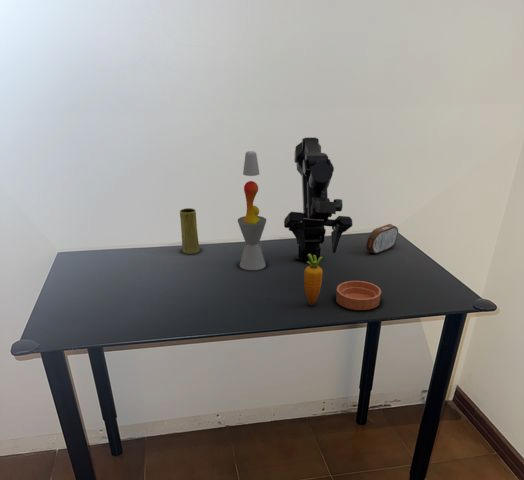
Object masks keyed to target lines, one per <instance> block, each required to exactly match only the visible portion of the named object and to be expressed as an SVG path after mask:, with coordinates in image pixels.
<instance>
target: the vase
mask: <svg viewBox="0 0 524 480" xmlns="http://www.w3.org/2000/svg"><path fill="white" fill-rule="evenodd" d="M179 218H180V232H181V233H180V234H181V247H182V248H181V252H182V253H183V254H186V255H195V254H198V253H200V251H201V248H200V244H199V234H198V223H197V212H196V209H194V208H192V207H188V208H182V209H180V210H179Z"/></svg>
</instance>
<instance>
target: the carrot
mask: <svg viewBox="0 0 524 480" xmlns="http://www.w3.org/2000/svg"><path fill="white" fill-rule="evenodd" d="M307 256H308V258H309V260H310V262H311V263H310V262H309V261H308V262H307V264H308V266H306V268H305V269H304V272H303V274H304V275H303V285H304V294H305V296H306V299H307V302H308V304H309V305H310V306H313V305H314V304H315V303H316V301H317V300H318V297H319V296H320V292H321V288H322V283H323V274H324V273H323V272H324V271H323V269H322V267H320V266H319V264H321V262H322V260H323V259H324V257H323V256H321V257H320V258H319V259H318V261H317V259H316V255H313V258H314V261H313V258H312V256H311V254H308V255H307Z"/></svg>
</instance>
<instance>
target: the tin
mask: <svg viewBox="0 0 524 480" xmlns="http://www.w3.org/2000/svg"><path fill="white" fill-rule="evenodd" d="M398 235H399V227H397V226H396V225H393V224H392V223H388V224H385V225H382V226H379V227H376V228H374V229H373V230H372V231H371V232H370V233H369V235H368V237H367V241H366V250H367V252H369V253H371V254H375V255H376V254H380V253H382V252H384V251H387V250H389V249H391V248H392V247H393V246H394V245H395V244H396V242H397V239H398Z"/></svg>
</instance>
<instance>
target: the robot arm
mask: <svg viewBox="0 0 524 480" xmlns="http://www.w3.org/2000/svg"><path fill="white" fill-rule="evenodd" d="M293 160H294V163H295V164H296V171H297V172H298V173H299V175H300V176H301V190H302V191H301V192H302V212H300V211H290V212H289V213H288V214H287V215H286V217H285V218H284V220H283V224H284V225H283V227H284V228H285V229H288V231H290V232H291V233H292V234H293V236H294V237H295V240H296V244H297V245H298V256H297V257H295V261H299V262H302V263H305V264H306V263H307V262H308V261H309V262H310V260H309V258H308V256H307V255H308V254H311V256H312V258H313V255H316V259H317V261H318V259H319V258H320V257H322V256H321V244H323V243H324V242H325V236H326V231H327V229H326V228H325V227H331V230H332V231H331V233H330V235H331V236H330V237H331V251H332V254H335V253H336V252H337V249H338V245H339V243H340V239H341V237H342V234H344V233H346V231H348V230H349V229H350V228H352V227H353V218H352V217H351V216H347V215H338V216H337V217H336V218H334V219H331V217H332V216H333V215H336V213H337V212H341V211H343V199H341V198H334V199H333V201H331V199H330V198H329V197H328V194H329V193H328V188H329V186H330V184H331V180H332V178H333V173H334V171H335V168H334V165H333V163H332V161H331V159H330V158H329V156H328V154H327V153H325V152H322V145H321V144H320V142H319V138H317V137H304V138H301V142H299V143H298V144H297V145H295V149H294V159H293ZM313 261H314V258H313ZM310 263H311V262H310ZM307 264H308V263H307Z"/></svg>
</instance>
